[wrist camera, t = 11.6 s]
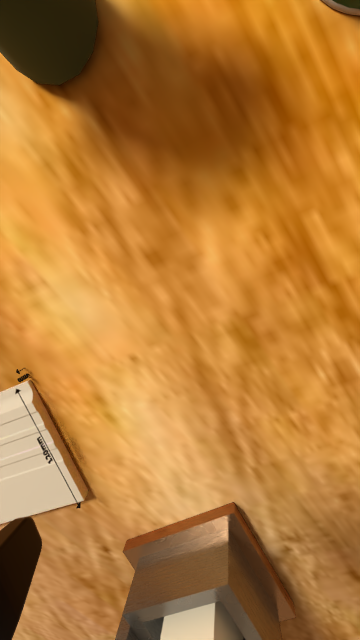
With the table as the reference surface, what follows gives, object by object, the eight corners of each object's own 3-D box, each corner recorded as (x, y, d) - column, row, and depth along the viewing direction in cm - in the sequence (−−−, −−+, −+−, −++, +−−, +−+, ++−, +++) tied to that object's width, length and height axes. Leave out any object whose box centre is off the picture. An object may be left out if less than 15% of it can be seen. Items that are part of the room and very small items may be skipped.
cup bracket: (233, 502, 23) (235, 584, 17) (293, 602, 24) (313, 712, 18) (126, 540, 25) (96, 624, 20) (185, 630, 26) (173, 735, 21)
